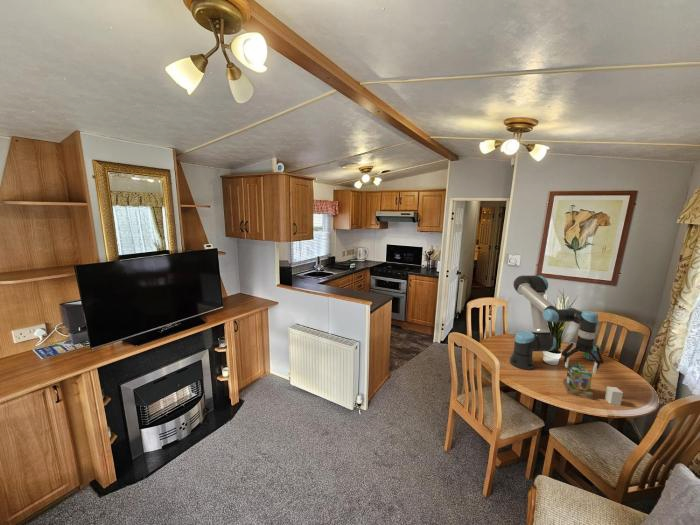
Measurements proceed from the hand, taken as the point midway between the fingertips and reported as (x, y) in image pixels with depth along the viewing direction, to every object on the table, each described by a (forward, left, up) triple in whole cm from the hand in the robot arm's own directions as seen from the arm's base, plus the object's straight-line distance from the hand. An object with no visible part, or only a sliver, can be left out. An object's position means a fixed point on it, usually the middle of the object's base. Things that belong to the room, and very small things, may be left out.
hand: (579, 369), depth 174 cm
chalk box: (0, -1, -11) cm, 11 cm away
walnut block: (0, 0, -15) cm, 15 cm away
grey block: (+16, -3, -14) cm, 22 cm away
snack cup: (+19, +56, -14) cm, 61 cm away
